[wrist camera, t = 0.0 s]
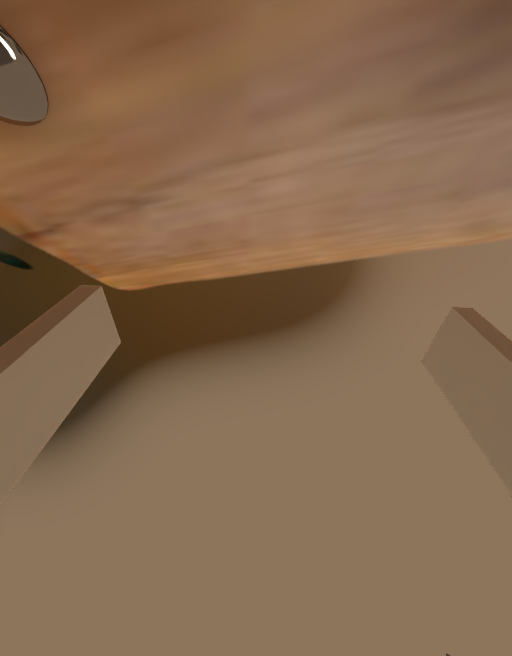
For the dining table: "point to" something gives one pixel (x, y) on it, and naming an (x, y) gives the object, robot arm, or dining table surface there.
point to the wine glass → (19, 86)
